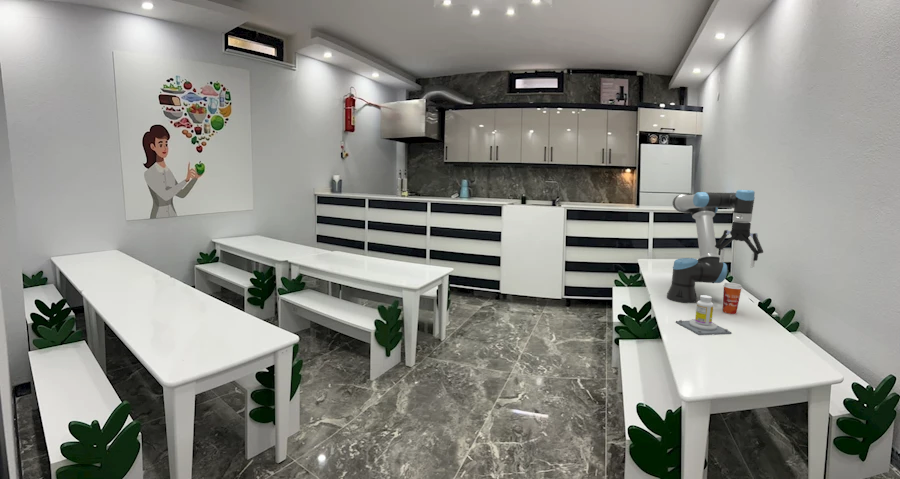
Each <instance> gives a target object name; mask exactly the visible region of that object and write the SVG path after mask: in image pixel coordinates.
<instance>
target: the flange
mask: <svg viewBox="0 0 900 479" xmlns="http://www.w3.org/2000/svg"><path fill="white" fill-rule="evenodd" d="M675 324H677V325H679V326H681V327H683V328H685V329H687V330H689V331H690V330H691V331H690V332H692V331H693V332H692V333H694V334H696V335H698V336H707V335H708V336H709V335H711V336H712V334H714V335H731V334H732V331H730V330H728V329H727V328H724V327H722V326H719V325H718V324H716V323H715V322H713V321H712V323H711V325H701V324H698V323H696V322H695V318H694V319H689V320H682V319H679V320H676V321H675Z"/></svg>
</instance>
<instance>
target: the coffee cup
mask: <svg viewBox="0 0 900 479" xmlns="http://www.w3.org/2000/svg"><path fill="white" fill-rule="evenodd" d="M742 290H743V285H741V284H740V283H735V282H724V284H723V295H722V296H723V297H722V299H723V300H722V312H723V313H725V314H729V315H736V314H737V311H738V308H739V302H740V298H741V292H742Z"/></svg>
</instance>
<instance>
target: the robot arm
mask: <svg viewBox="0 0 900 479" xmlns="http://www.w3.org/2000/svg"><path fill="white" fill-rule="evenodd" d="M755 193H756V192H755V190H752V189H737V190H736V192H709V191H707V192H705V191H701V192H700V191H698V192H695V193H681V194H678V195H676V196H675V197H674V198H673V200H672V206H673V208H674V210H676V211H677V212H679V213H683V214H691V216H692V219H694V220H695V227H696V233H697V235H696V236H697V242H698V250H699V257H698V258H692V257H681V258H677V259H675V260H674V261H673V266H672V278H671V285H670V287H669V289H668V291H667V293H666V298H667V299H669V300H670V301H673V302H678V303H684V304H693V303H697V302H698V296H697V291H696V288H695V287H696V283H708V284H720V283H723V282H724V281H725V280H726V278H727V275H728V265H727V263H725V262H724V257H725V251H726V249H725V247H727V246H728V245H729V244H730V243H731V242H733V241H736V242H737V241H739V242H745V243H746V245H747V246H748V247H749V249H750V250H751V251H752V254H751V259H750V265H749V266H750V268H755V262H756V261H758V259H759V258H758V257H759V254H763V253H764V250H763V247H762V245H761V243H760V240H759V238H758V233H757V232H755V233H753V232H751V225H752V224H751V222H752V219H753V210H754V205H755V204H754V203H755ZM719 208H721V209H722V208H727V209H733V216H732V224H731V225H732V226H731V230H729V229H725V230H724V231H723V234H722V236H721V237H720V238H719V240H718V241H717V242H716V236H715V234H716V233H715V228H714V219H713V218H714V217H715V216H716V214H717V212H718V210H719ZM728 235H731V237H729V238H728V239H727V240H726V241H725V239H726V238H727V236H728ZM750 237H751V238H752V240H753V242H754V244H753V243H752V241H751V239H750Z"/></svg>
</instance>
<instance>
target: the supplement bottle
mask: <svg viewBox="0 0 900 479" xmlns="http://www.w3.org/2000/svg"><path fill="white" fill-rule="evenodd" d="M712 298H713V297H712V296H710V295H706V294H700V296H699V300H697V302H696V310H695V318H694V319H695V322H696V323H698V324H701V325H711V323H712V322H713V314H714V306H715V305H714V303H713V302H712Z"/></svg>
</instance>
